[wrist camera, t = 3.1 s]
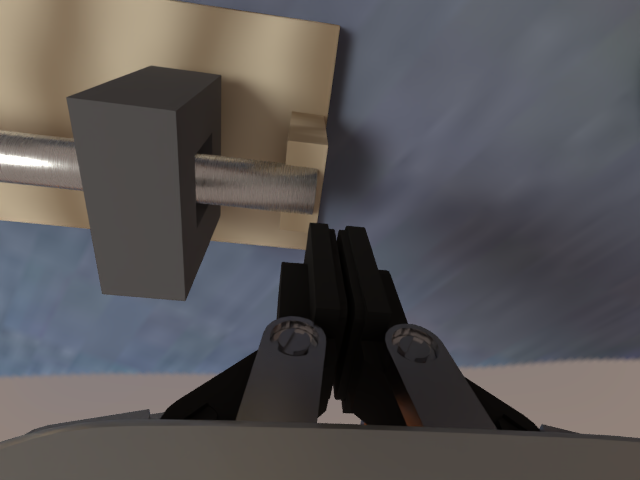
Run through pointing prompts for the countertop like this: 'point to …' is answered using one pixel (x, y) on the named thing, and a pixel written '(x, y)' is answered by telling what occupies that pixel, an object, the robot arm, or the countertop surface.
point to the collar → (147, 177)
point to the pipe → (210, 174)
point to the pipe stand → (179, 53)
